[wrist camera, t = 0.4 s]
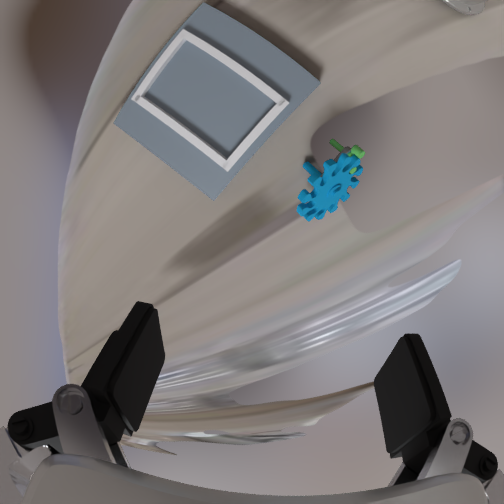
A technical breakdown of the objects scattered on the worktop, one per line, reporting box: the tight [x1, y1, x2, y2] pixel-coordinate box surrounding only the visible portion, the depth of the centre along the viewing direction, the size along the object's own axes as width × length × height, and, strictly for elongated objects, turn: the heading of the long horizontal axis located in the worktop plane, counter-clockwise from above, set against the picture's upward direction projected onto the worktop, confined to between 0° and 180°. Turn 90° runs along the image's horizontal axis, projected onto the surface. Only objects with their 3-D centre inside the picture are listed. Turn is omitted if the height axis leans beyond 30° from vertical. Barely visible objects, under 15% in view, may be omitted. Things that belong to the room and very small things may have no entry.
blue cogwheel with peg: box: [297, 139, 365, 221], centre depth 32 cm, size 11×6×10 cm
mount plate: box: [114, 2, 321, 201], centre depth 29 cm, size 20×18×4 cm
